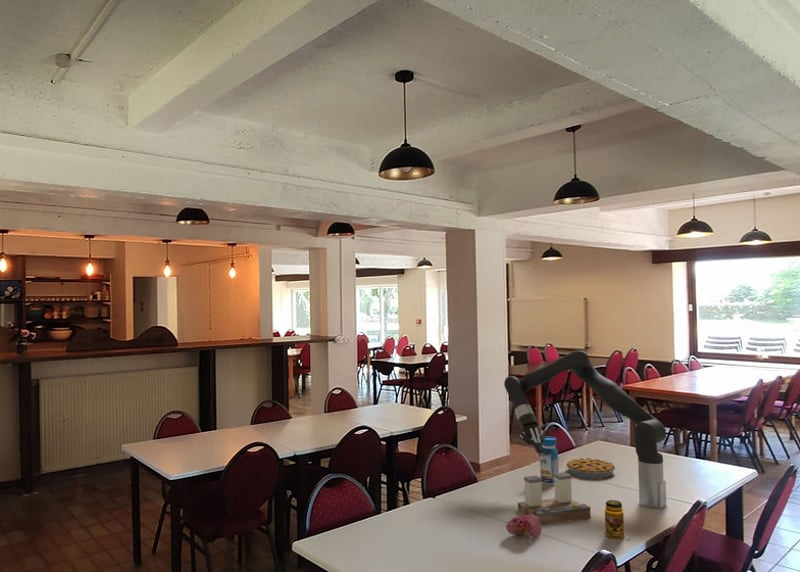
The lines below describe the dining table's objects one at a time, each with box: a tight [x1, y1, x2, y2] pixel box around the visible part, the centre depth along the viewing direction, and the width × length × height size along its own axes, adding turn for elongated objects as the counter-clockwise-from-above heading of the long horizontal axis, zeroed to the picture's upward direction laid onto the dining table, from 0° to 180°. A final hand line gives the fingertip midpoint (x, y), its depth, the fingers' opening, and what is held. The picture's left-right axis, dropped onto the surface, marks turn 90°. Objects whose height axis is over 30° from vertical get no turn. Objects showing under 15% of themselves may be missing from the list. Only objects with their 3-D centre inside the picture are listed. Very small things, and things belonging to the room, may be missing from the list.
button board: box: [517, 497, 591, 526], centre depth 223 cm, size 16×22×5 cm
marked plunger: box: [554, 471, 573, 503], centre depth 228 cm, size 4×5×10 cm
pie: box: [566, 457, 616, 480], centre depth 275 cm, size 22×22×5 cm
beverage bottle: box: [539, 436, 560, 486], centre depth 262 cm, size 8×8×20 cm
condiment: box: [597, 499, 631, 543], centre depth 201 cm, size 7×8×12 cm
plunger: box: [523, 475, 543, 507], centre depth 224 cm, size 4×5×10 cm
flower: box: [505, 514, 542, 545], centre depth 201 cm, size 11×10×10 cm
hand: (540, 452), depth 243 cm, fingers closed
